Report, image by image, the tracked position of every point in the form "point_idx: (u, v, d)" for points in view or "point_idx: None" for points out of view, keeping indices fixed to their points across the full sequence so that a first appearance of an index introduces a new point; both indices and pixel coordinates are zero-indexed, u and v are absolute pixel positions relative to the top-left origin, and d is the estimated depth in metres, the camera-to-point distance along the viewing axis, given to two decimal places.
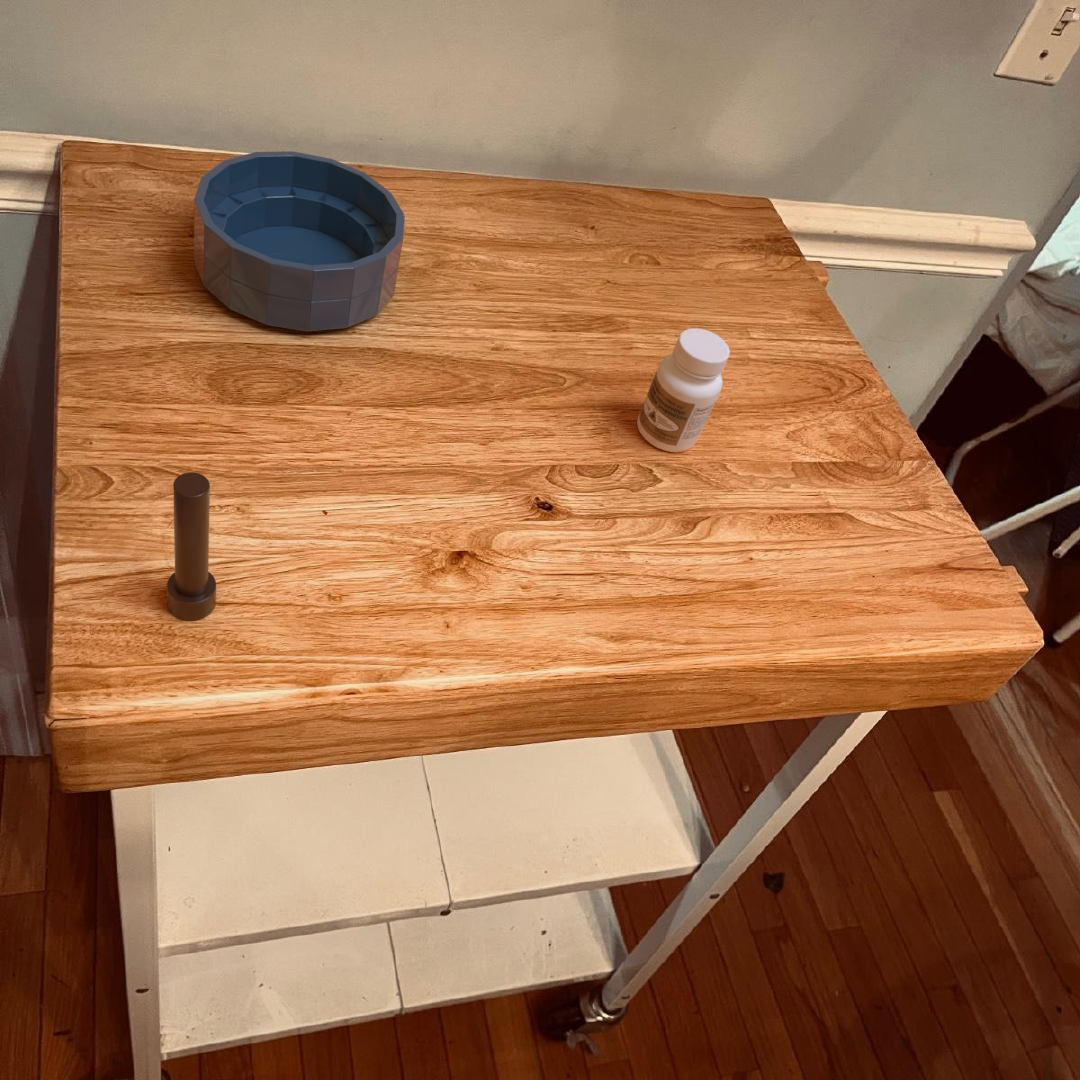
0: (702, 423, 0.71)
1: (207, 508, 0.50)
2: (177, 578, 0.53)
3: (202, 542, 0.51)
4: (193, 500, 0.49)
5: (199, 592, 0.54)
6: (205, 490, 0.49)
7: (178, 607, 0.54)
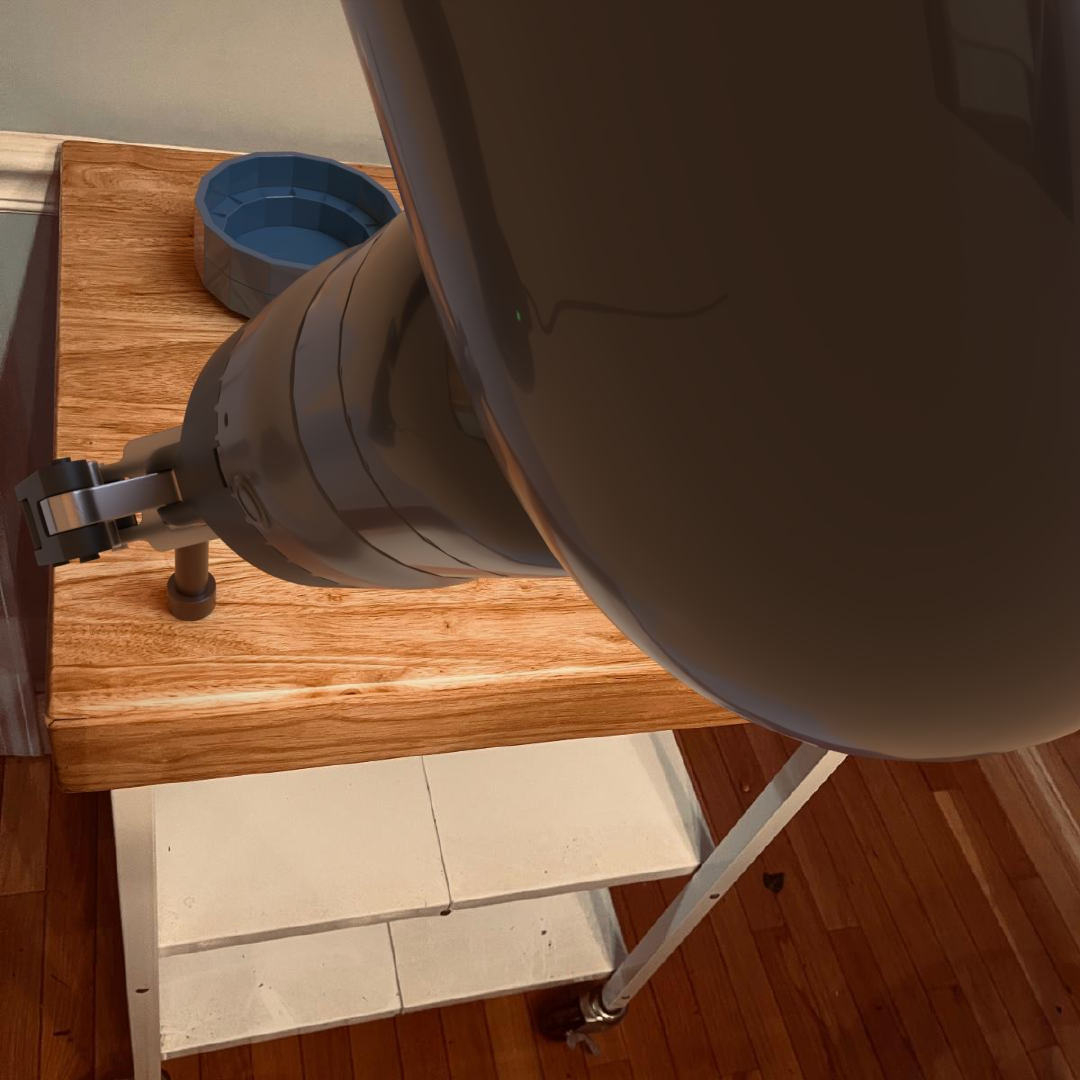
0: None
1: None
2: (177, 578, 0.53)
3: (202, 542, 0.51)
4: None
5: (199, 592, 0.54)
6: None
7: (178, 607, 0.54)
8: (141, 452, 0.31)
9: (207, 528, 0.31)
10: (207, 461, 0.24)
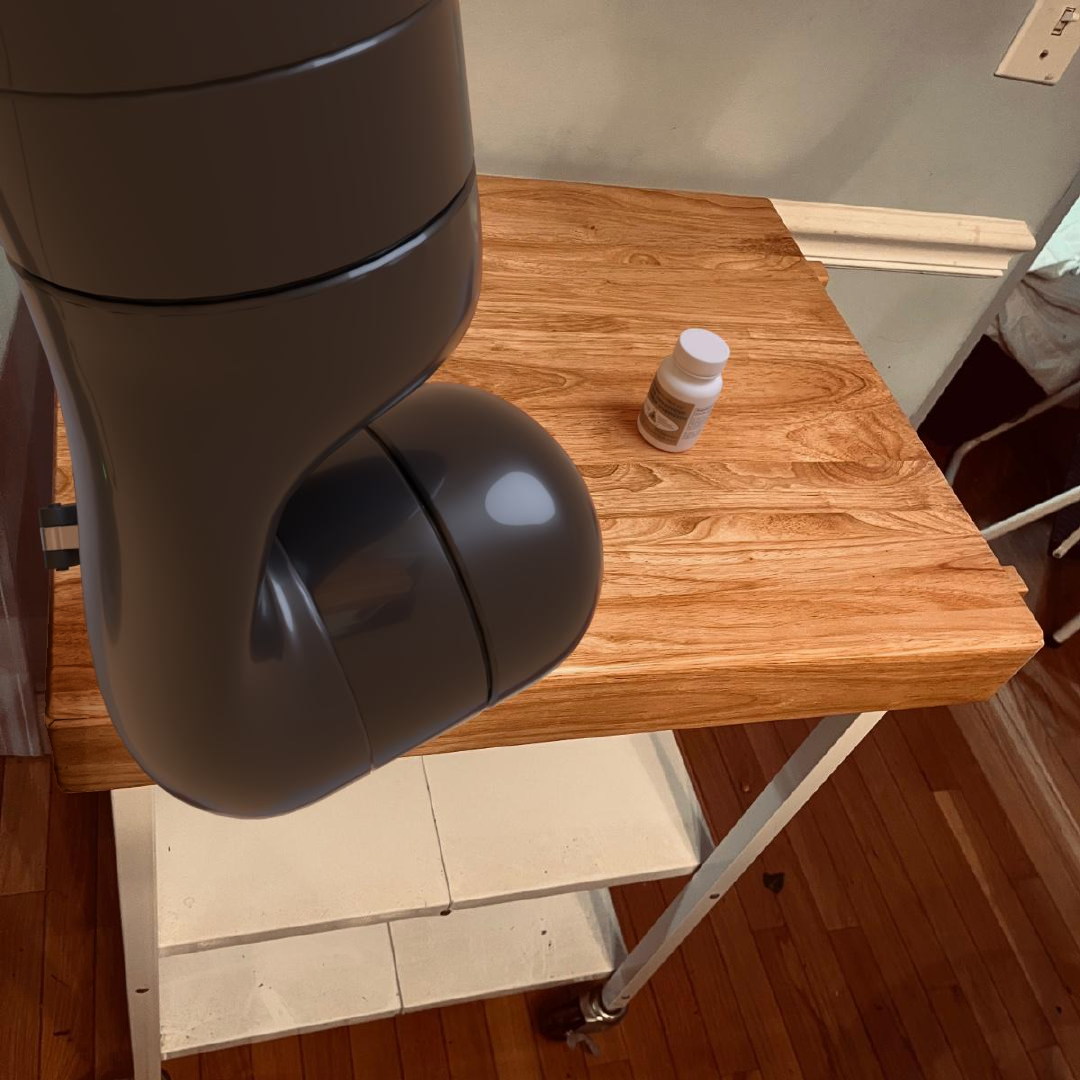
0: (702, 423, 0.71)
1: None
2: None
3: None
4: None
5: None
6: None
7: None
8: None
9: None
10: None
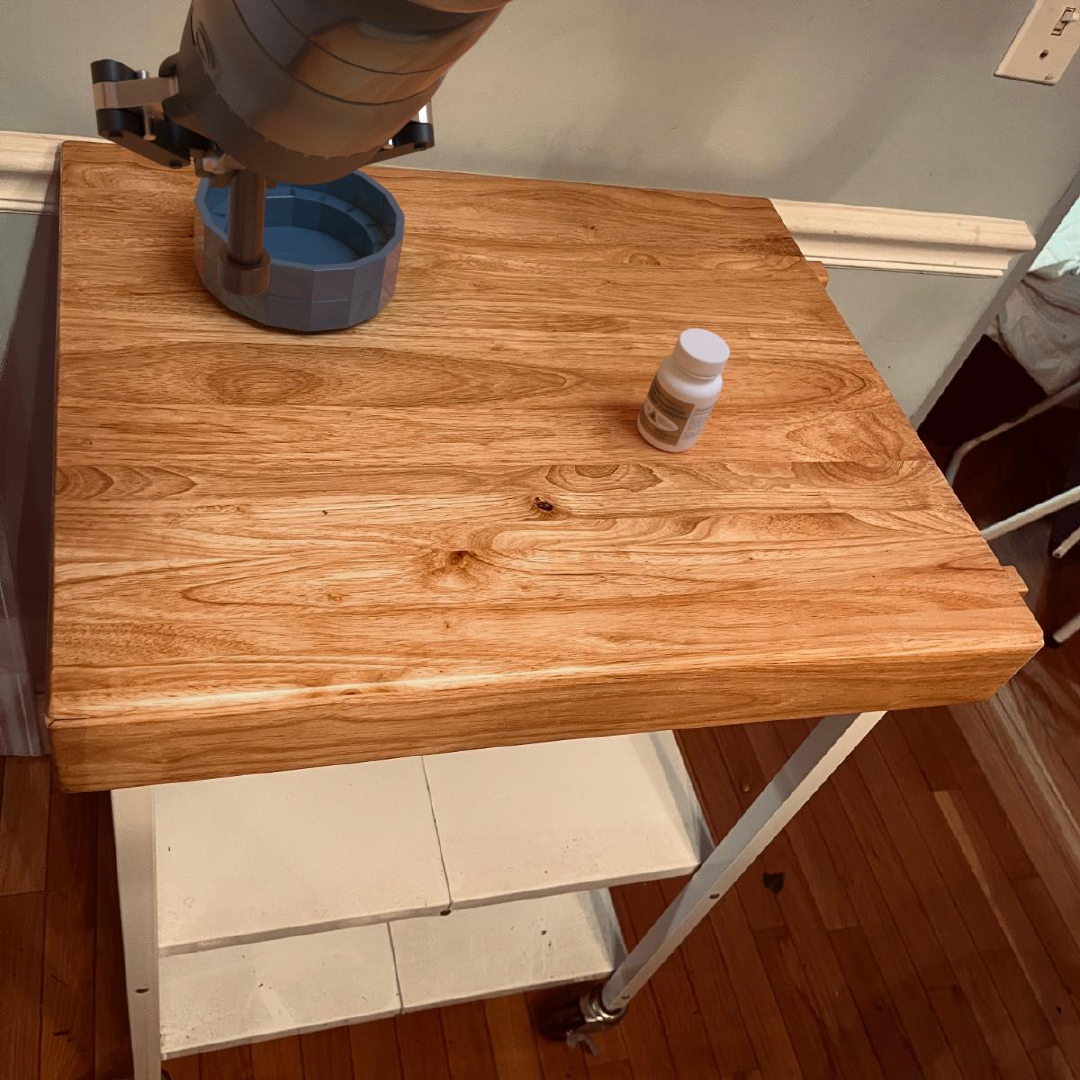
0: (702, 423, 0.71)
1: None
2: (230, 239, 0.49)
3: (259, 186, 0.47)
4: None
5: (253, 260, 0.50)
6: None
7: (230, 276, 0.50)
8: None
9: None
10: (188, 32, 0.33)
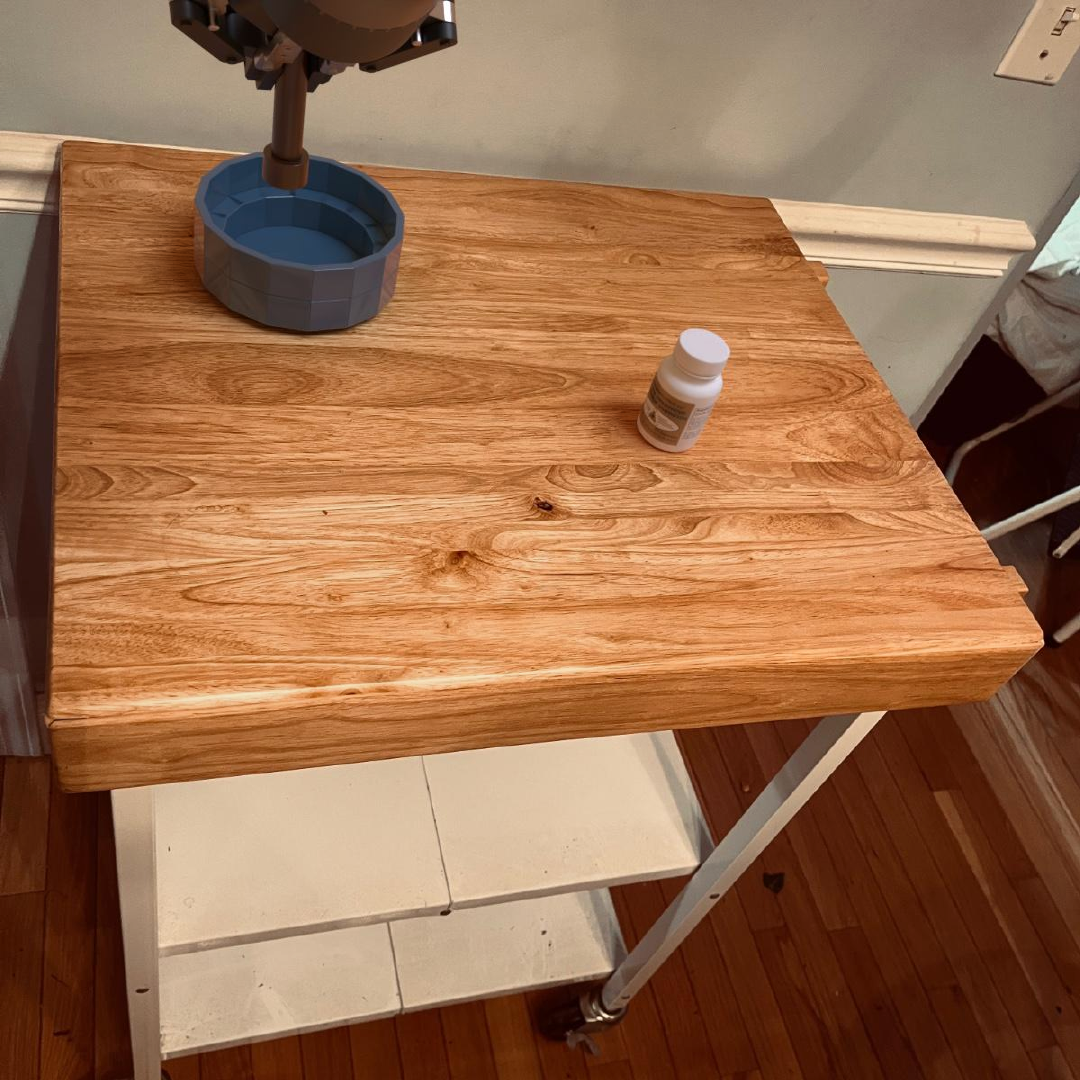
0: (702, 423, 0.71)
1: None
2: (274, 137, 0.56)
3: (302, 86, 0.54)
4: None
5: (294, 156, 0.56)
6: None
7: (274, 171, 0.56)
8: None
9: (274, 38, 0.47)
10: None
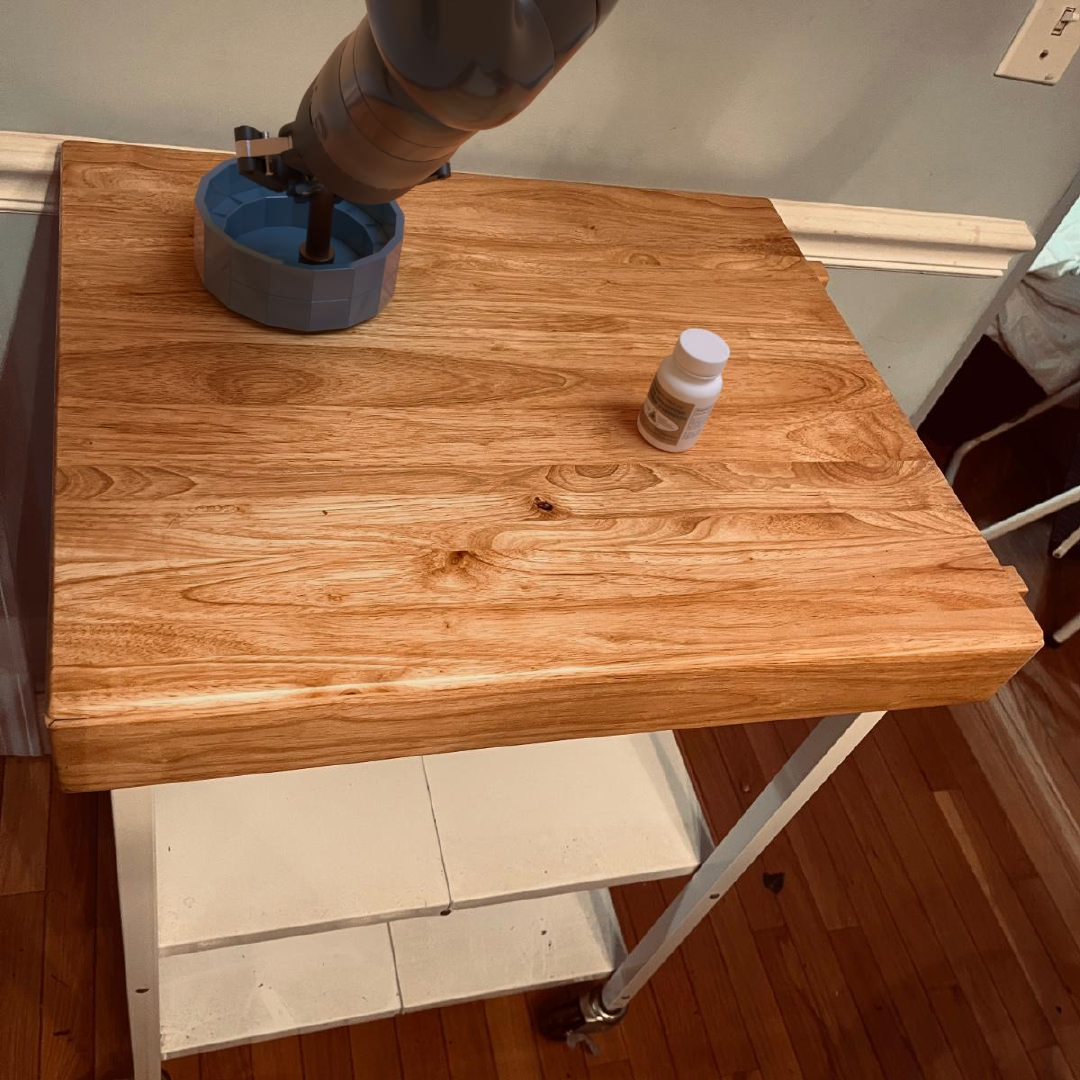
0: (702, 423, 0.71)
1: None
2: (308, 239, 0.71)
3: (330, 203, 0.69)
4: None
5: (323, 253, 0.72)
6: None
7: None
8: None
9: (313, 179, 0.63)
10: (306, 115, 0.56)
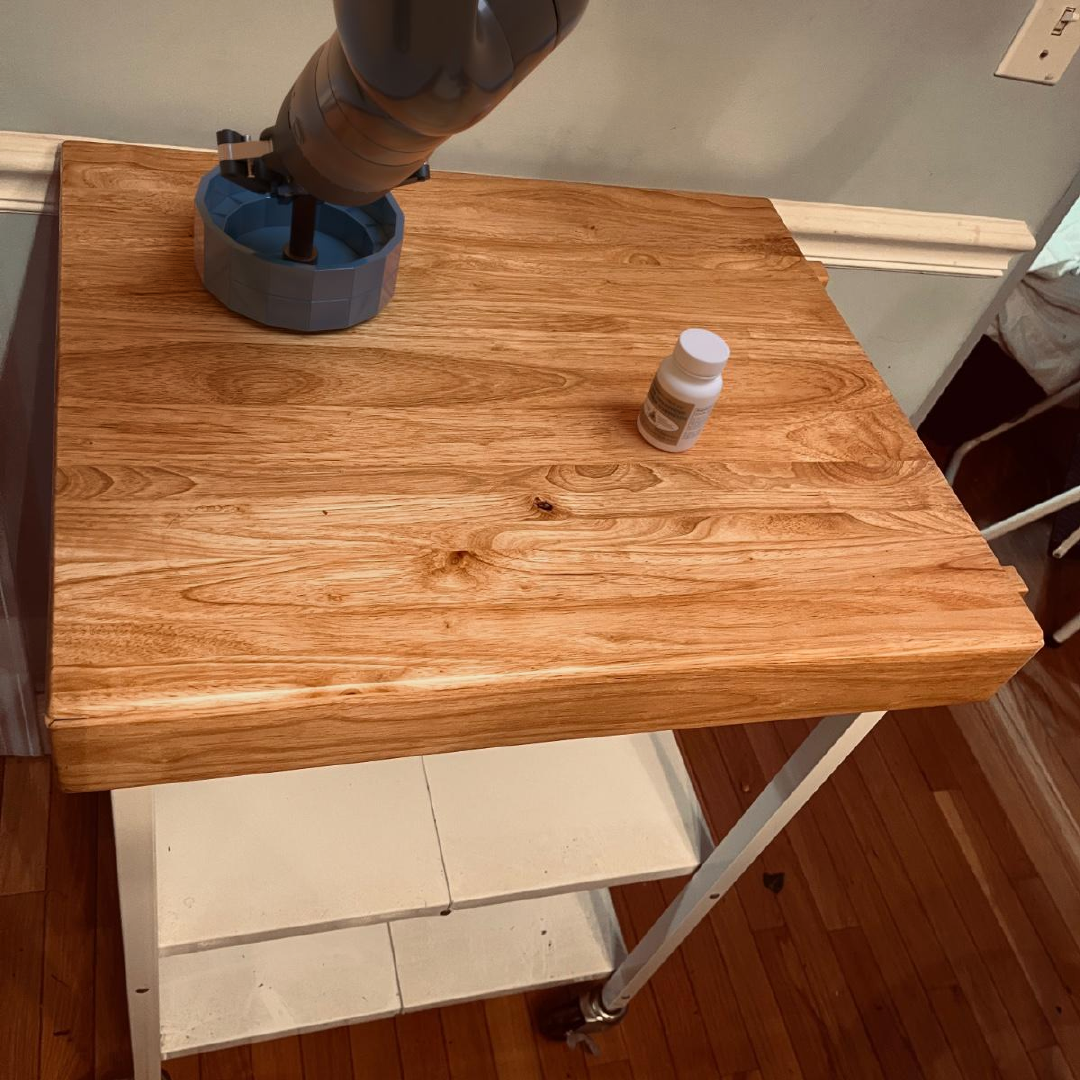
0: (702, 423, 0.71)
1: None
2: (292, 240, 0.73)
3: (313, 204, 0.71)
4: None
5: (307, 253, 0.73)
6: None
7: None
8: None
9: (294, 181, 0.64)
10: (285, 119, 0.57)
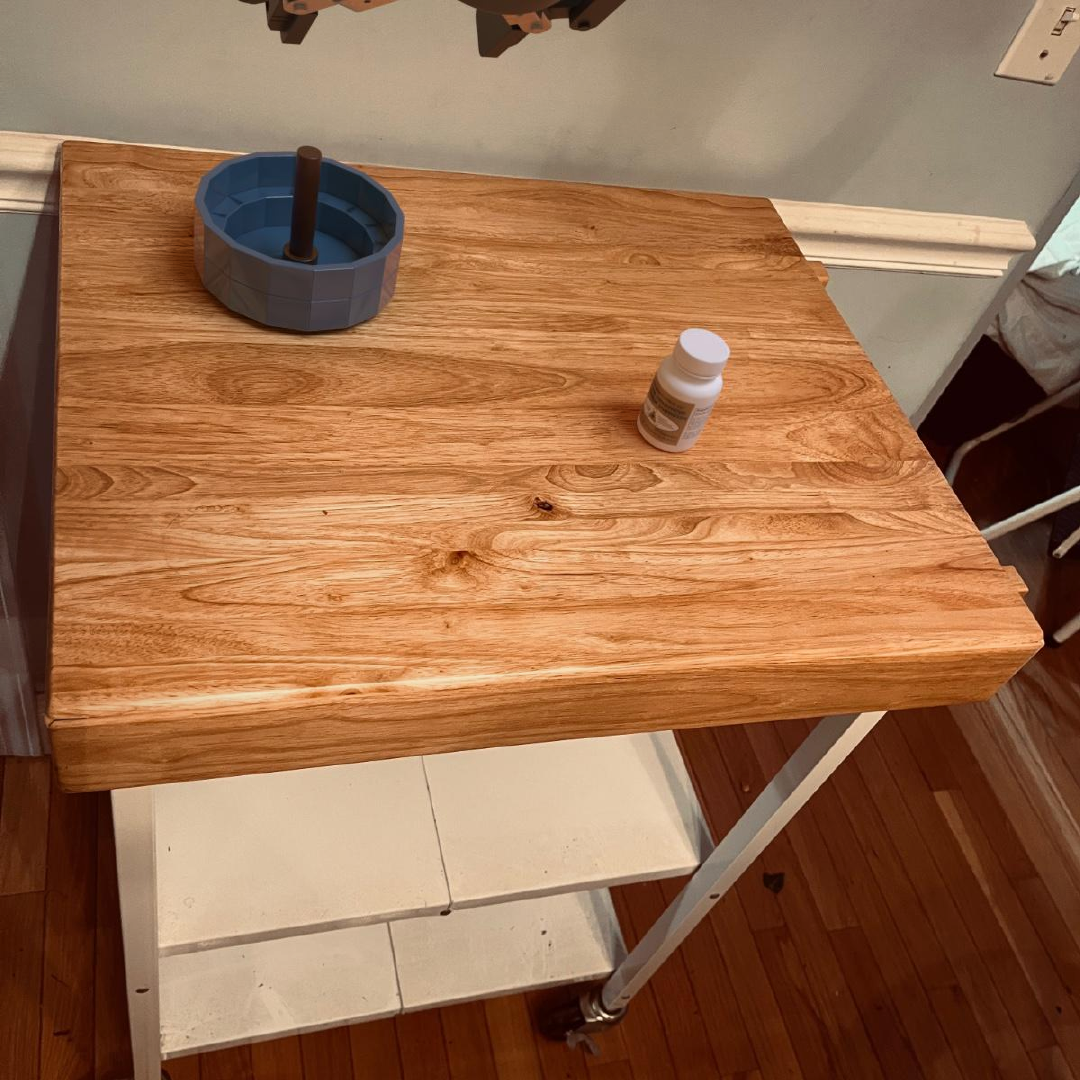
0: (702, 423, 0.71)
1: (319, 173, 0.69)
2: (292, 240, 0.73)
3: (313, 204, 0.71)
4: (311, 161, 0.68)
5: (307, 253, 0.73)
6: (319, 156, 0.68)
7: None
8: None
9: None
10: None
